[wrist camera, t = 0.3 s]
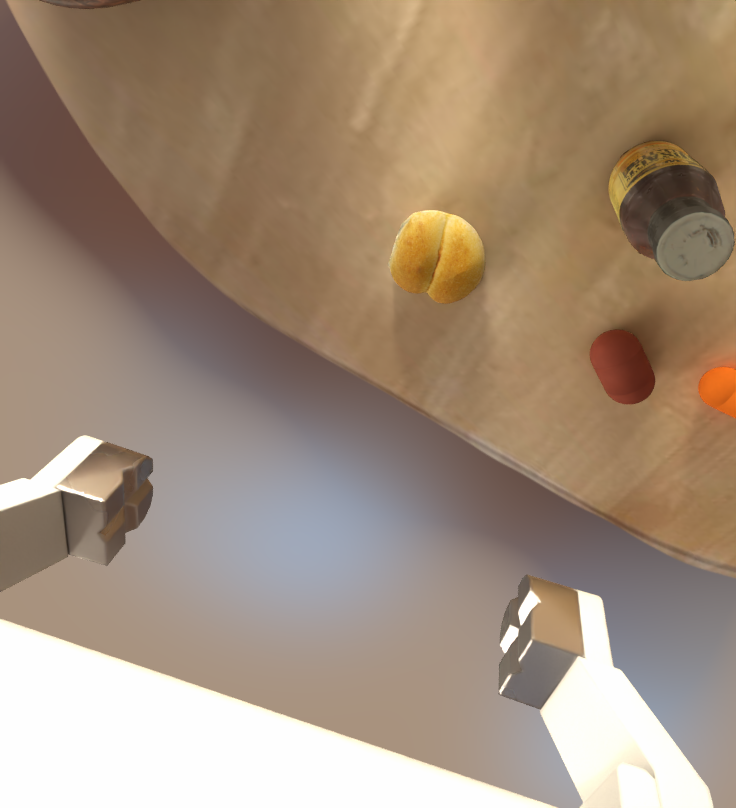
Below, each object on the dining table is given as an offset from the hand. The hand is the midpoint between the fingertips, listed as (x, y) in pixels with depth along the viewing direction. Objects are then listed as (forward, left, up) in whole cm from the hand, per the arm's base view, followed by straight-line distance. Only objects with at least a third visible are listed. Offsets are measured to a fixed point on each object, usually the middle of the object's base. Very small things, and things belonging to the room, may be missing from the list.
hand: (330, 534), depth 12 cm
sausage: (+14, +19, -47) cm, 53 cm away
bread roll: (+9, -1, -47) cm, 48 cm away
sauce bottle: (-2, +14, -47) cm, 50 cm away
